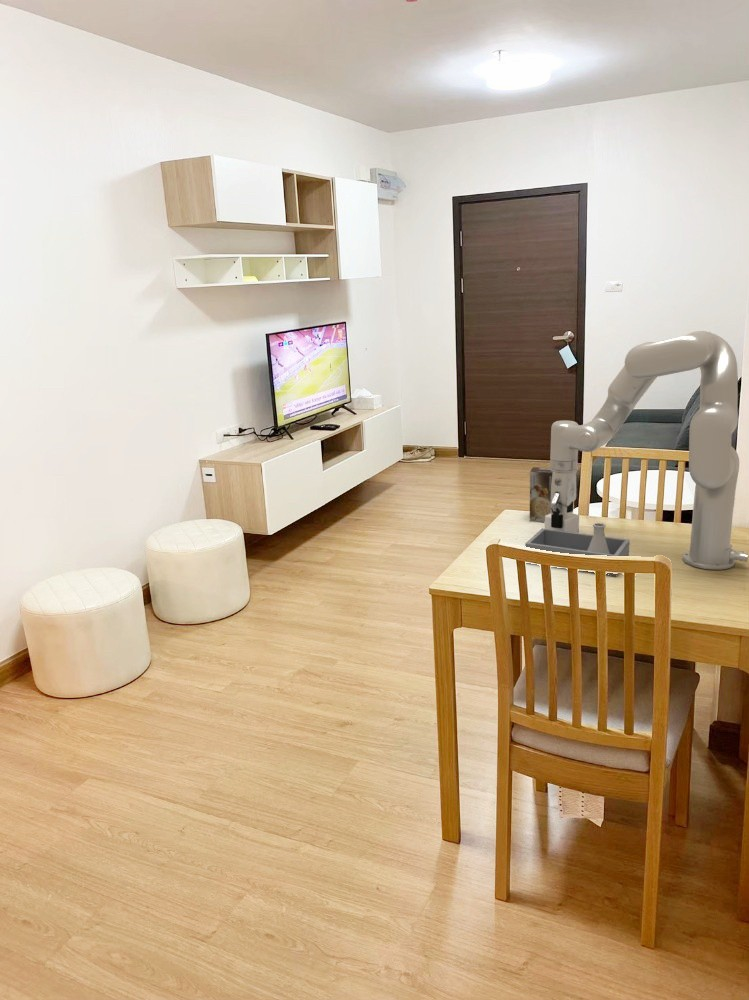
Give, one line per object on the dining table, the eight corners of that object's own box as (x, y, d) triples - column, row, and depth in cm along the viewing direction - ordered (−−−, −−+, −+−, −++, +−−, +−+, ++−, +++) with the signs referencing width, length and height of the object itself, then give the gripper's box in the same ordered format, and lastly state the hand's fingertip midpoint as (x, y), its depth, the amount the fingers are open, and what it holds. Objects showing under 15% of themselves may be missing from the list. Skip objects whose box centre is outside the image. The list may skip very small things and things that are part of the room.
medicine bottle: (558, 533, 231) (559, 494, 228) (578, 538, 226) (580, 498, 223) (543, 538, 227) (544, 499, 223) (564, 544, 222) (566, 503, 218)
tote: (628, 559, 209) (629, 539, 207) (616, 576, 197) (617, 556, 196) (541, 546, 220) (542, 528, 219) (524, 562, 209) (525, 543, 207)
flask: (613, 565, 202) (615, 529, 199) (584, 564, 203) (585, 528, 201) (610, 556, 209) (612, 520, 206) (582, 555, 210) (584, 519, 207)
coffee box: (561, 517, 245) (562, 468, 241) (558, 523, 240) (560, 473, 235) (532, 515, 249) (533, 466, 244) (528, 521, 243) (529, 471, 238)
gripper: (567, 473, 211) (565, 533, 216) (585, 459, 226) (582, 516, 231) (540, 470, 215) (539, 530, 220) (559, 457, 229) (558, 513, 234)
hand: (561, 522), depth 225 cm, fingers closed on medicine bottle, 8 cm apart
